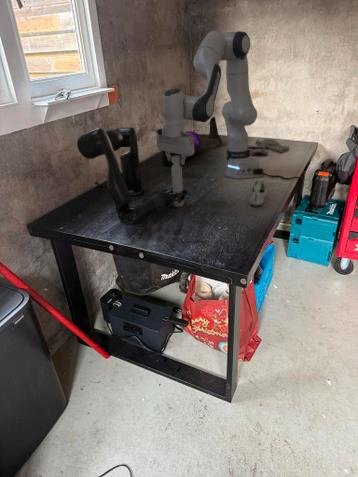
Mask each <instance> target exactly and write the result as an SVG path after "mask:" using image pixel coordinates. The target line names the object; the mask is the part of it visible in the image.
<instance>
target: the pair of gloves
mask: <svg viewBox="0 0 358 477" xmlns="http://www.w3.org/2000/svg"><path fill="white" fill-rule="evenodd" d="M255 145H257V146H254V145H248V147H247V149H249V150H251V151H252V152H253V154H252V155H251V156H256V155H260V154H263V155H265V156H268V154H269V153H268V152H267V151H266V149H269V150H271V151H275V152H278V153H284V152H287V151H289V150H290V146H287V145H281V144H280V143H279V142H278V141H276V140H275V139H272V138H267V139H264V140H259V139H256V141H255Z"/></svg>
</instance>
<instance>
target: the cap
mask: <svg viewBox="0 0 358 477" xmlns="http://www.w3.org/2000/svg"><path fill="white" fill-rule="evenodd" d="M172 163H179V164H180V156H172Z"/></svg>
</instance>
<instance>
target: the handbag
mask: <svg viewBox="0 0 358 477" xmlns="http://www.w3.org/2000/svg"><path fill="white" fill-rule="evenodd" d="M170 154H171V157H172V156H180V160H181V159H182V157H181V155H180V154H175V153H170ZM189 157H190V156H187V157H186V159H185V161H186V160H188V159H189ZM173 164H174V163H172V161H171V162H170V161H168V157H167V156H166V154H165V151H162V165H163V166H169V167H172V166H173Z"/></svg>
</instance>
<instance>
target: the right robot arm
mask: <svg viewBox="0 0 358 477" xmlns="http://www.w3.org/2000/svg"><path fill="white" fill-rule="evenodd" d="M250 48H251V39H250V36H249V35H248V33H247V32H246V31H241V30H238V31H228V32H223V33H222V32H221V31H219V30H211V31H208V33H207V34H205V36H204V38H203V39H202V41H201V43H200V44H199V46H198V48H197V50H196V53H195V55H194V58H193V67H194V69H195V72H196V73H197V74H198V75H199V76H200V77H202V78H203V79H206V82H205V87H204V90H203V93H202V94H200V95H197V96H196V95H188V94H185V93H183V92H182V90H181V89H180V88H172V89H168V90H166V91H165V92H164V93H163V95H162V102H161V103H162V104H161V105H162V116H163V126H162V127H160V128H156V129H155V134H156V146H157V149H158V150H159V151H162V152H163V151H165V154H166V156H167V157H168V161H170V162H171V161H172V157H171V154H170V153H175V154H180V155H181V157H182V159H181V160H180V163H179V164H180V165H181V166H183V165H185V164H186V162H185V161H186V160H185V159H186V157H187V156H189V157H192V156H194V155H195V153H196V152H195V150H194V142H193V137H192V136H191V135H190V134H189V133H185V132H186V131H185V129H186V128H185V120H187V121H195V122H199V123H206V122H208V121H210V119H211V118H212V117H213V114H214V110H215V103H216V98H217V94H218V91H219V87H220V82H221V77H222V67H221V66H220V63H221V61H225V79H226V80H225V81H226V91H227V94H228V96H229V98H230V101H226V102H225V103H224V104H223V105H222V108H221V115H222V118H223V119H224V123H225V128H226V135H227V149H226V152H225V153H226V154H225V159H226V165H225V169H224V172H223V174H224V176H225V177H228V178H232V179H233V178H234V179H237V180H243V179H250V178H258V177H259V178H260V177H263V176H267V177H270V178H281V179H283V180H292V179H293V180H294V179H298V180H299V181H302V180H303V179H302V178H301V177H299V176H293V177H284V176H282V175H278V174H277V175H276V174H275V175H271V174H268V173H265V172H264V169H263V168H262V167H261V165H260V162H259V161H258V160H257V159H256V158H255V157H254V156H253V155H252V154H253V152H252V151H251V150H249V149H247V147H248V146H249V144H248V143H249V134H248V132H247V130H246V127H249V126H251V125H253V124H255V122H256V120H257V117H258V111H257V108H256V107H255V105H254V102H253V100H252V96H251V95H252V94H251V92H250V77H249V76H250V74H249V61H248V54H249V52H250Z"/></svg>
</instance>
